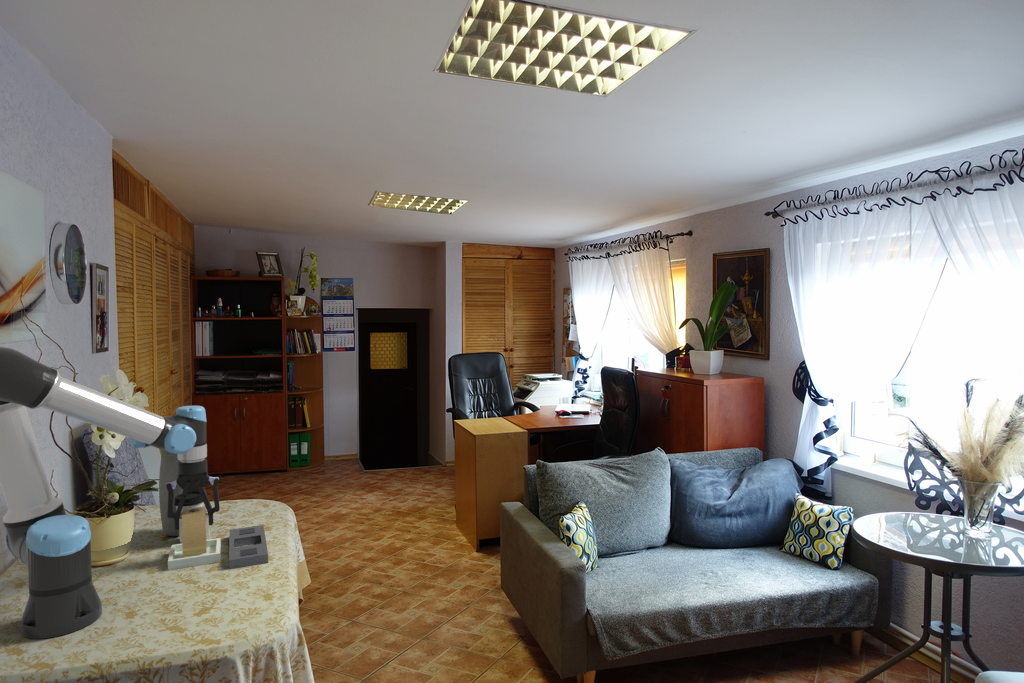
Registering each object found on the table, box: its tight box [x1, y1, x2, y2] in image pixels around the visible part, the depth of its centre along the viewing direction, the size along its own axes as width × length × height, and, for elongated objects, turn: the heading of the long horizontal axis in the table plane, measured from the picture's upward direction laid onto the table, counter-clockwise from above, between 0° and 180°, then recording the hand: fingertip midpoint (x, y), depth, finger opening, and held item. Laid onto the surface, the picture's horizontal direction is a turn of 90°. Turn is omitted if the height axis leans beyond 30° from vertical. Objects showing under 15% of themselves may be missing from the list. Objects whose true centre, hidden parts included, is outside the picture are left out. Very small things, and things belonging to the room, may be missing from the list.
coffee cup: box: [174, 491, 204, 544], centre depth 188 cm, size 8×8×15 cm
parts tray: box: [167, 537, 222, 571], centre depth 176 cm, size 13×13×2 cm
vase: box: [158, 449, 183, 537], centre depth 195 cm, size 12×12×30 cm
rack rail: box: [228, 524, 269, 570], centre depth 182 cm, size 26×10×3 cm, turn 25°
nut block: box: [182, 505, 208, 557], centre depth 176 cm, size 6×6×12 cm
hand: (194, 537), depth 176 cm, fingers closed on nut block, 6 cm apart
